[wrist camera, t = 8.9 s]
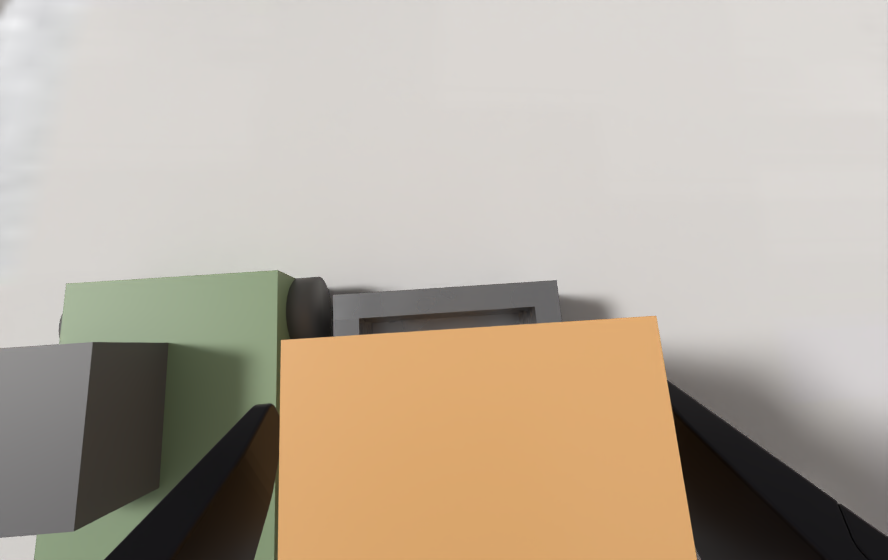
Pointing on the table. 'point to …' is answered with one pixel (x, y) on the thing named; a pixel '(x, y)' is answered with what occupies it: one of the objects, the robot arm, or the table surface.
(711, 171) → the table surface
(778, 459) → the robot arm
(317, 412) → the tan rectangular block
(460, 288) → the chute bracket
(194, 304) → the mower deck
